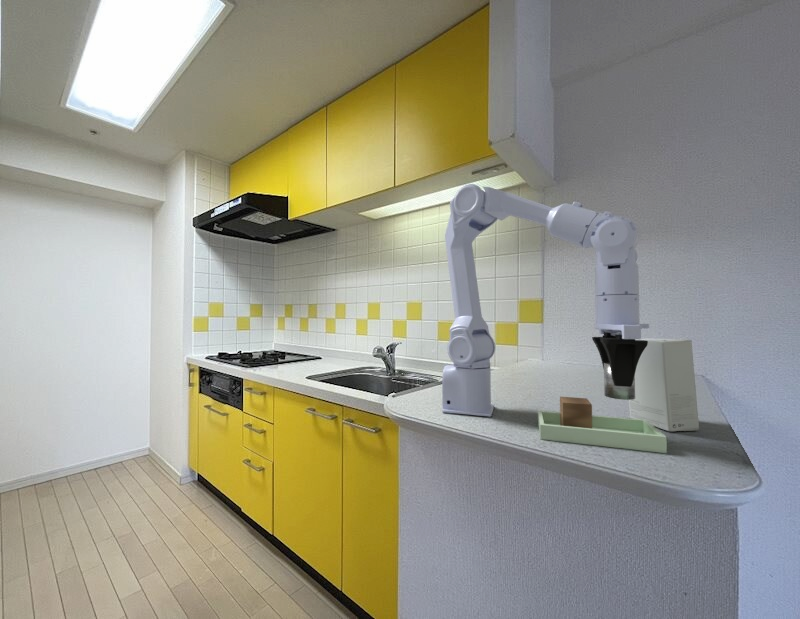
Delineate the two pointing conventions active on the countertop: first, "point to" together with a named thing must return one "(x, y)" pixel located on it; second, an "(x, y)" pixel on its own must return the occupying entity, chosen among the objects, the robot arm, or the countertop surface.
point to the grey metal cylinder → (616, 387)
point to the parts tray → (604, 432)
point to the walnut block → (575, 412)
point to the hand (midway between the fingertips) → (618, 383)
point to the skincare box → (666, 386)
